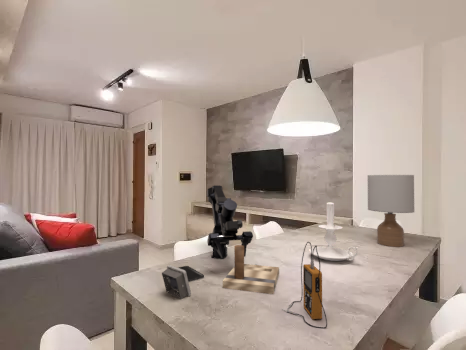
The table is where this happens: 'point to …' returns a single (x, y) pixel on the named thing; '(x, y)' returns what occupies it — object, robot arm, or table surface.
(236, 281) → the board
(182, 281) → the electrical switch
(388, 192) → the lamp
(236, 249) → the brown round-topped cylinder
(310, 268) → the multimeter
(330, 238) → the candlestick
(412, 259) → the table surface
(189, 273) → the phone
